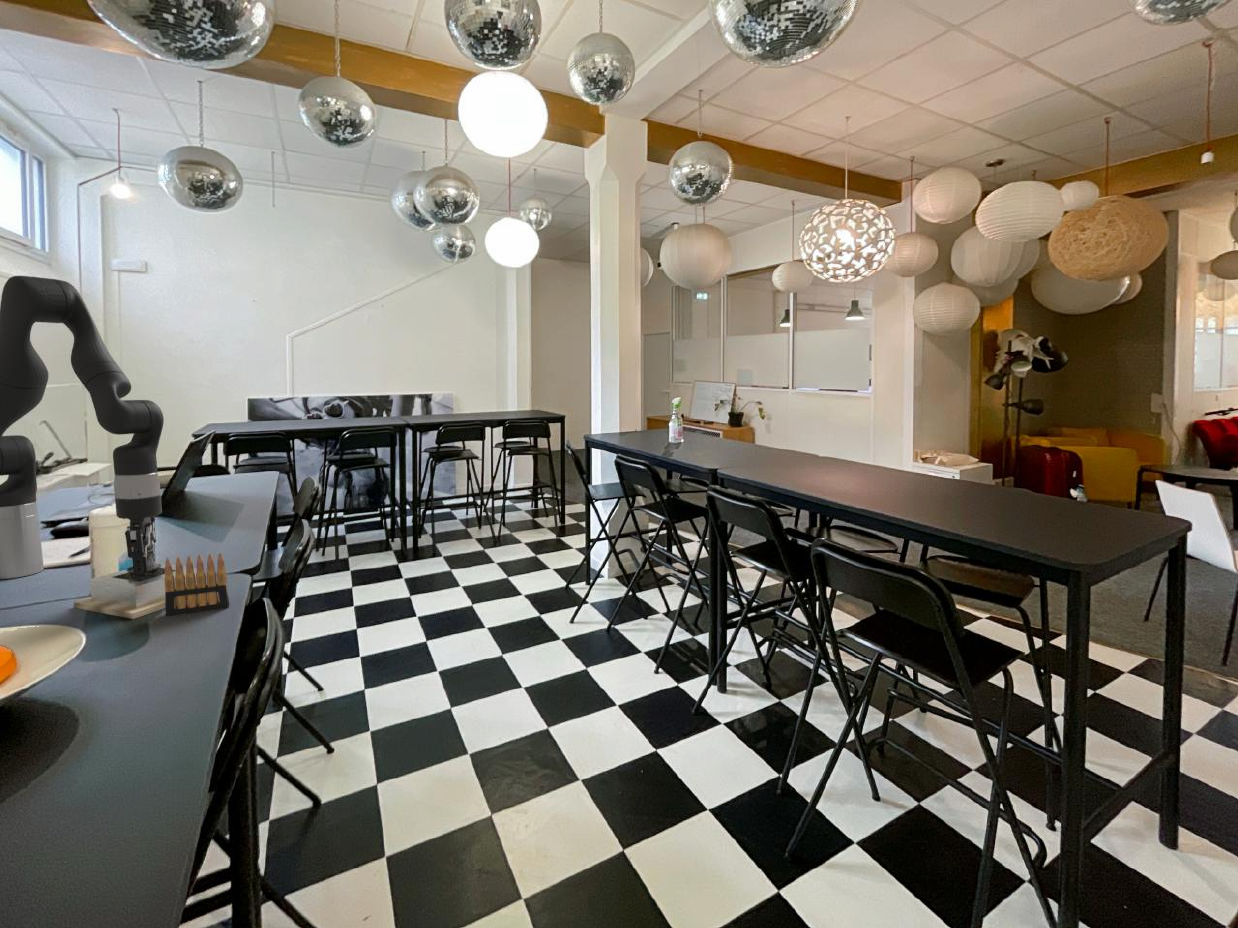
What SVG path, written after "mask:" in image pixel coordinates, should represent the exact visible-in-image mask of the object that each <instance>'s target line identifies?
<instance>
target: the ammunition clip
mask: <svg viewBox="0 0 1238 928" xmlns="http://www.w3.org/2000/svg"><path fill="white" fill-rule="evenodd" d="M203 560H204V559H203V557H202V555H200V554H199V555H198V556H197V559H196V568H197V573H196V578H195V573H194V568H195V567H194V562H193V559H192V557H191V556H190V555H188V556H187V559H186V565H185V567H186V584H185V576H184V572H183V562H182V561H183V560H182V559H181V558H180V557H179V556H177V558H176V562H175V565H176V576H175V580H174V576H173V571H172V565H173V564H172V561H171V560H170V558H169V557H167V558H166V560H165V579H164V581H165V608H164V610H165V617H173V616H180V615H187V614H195V613H203V612H209V611H217V610H223V609H225V610H226V609H229V608H230V597H229V591H228V581H227V579H228V577H227V571H226V566H225V560H224V556H223V554H222V552H219V554H218V556H217V571H216V568H215V563H214V558H213V555H212V554H211V553H209V554H208V556H207V561H206V565H207V567H206V570H207V571H206V572H205V567H204V565H205V564H204V561H203ZM171 564H172V565H171ZM196 583H197V586H196ZM175 584H176V589H175ZM186 595H187V596H186ZM176 599H177V604H176Z"/></svg>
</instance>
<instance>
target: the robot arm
mask: <svg viewBox="0 0 1238 928" xmlns="http://www.w3.org/2000/svg"><path fill="white" fill-rule="evenodd" d="M35 323H48V324H64V325H65V327H66V328H67V329H68V330H69V331H70V332H71V334H72V336H73V346H72V349H71V353H70V354H71V355H70V364H71V367H72V370H73V372H74V373H75V375H76V377H77V378H78V379H79V380H80V382H81V384H82V385H83V386H84V388H85V389H86V390H87V392H88V393H89V395H90V398H91V402H92V406H93V408H94V409H93V410H94V413H95V416H96V417H95V418H96V420H97V422H98V424H99V425H100V427H101V428H102V429H104V430H105V431H106V432H108V433H110V434H113V435H119V436H120V435H132V438H131V440H130V441H129V442H128V443H125V444H124V445H120V446H117V447H116V448H114V449H113V452H112V460H113V461H112V462H113V473H114V481H113V490H114V492H113V493H114V500H115V501H114V502H115V512H116V513H115V514H116V517H117V518H118V519H123V520H125V519H127V520H129V526H128V525H127V526H126V530H125V532H124V535H125V542H126V549H127V558H129V559H132V566H133V572H134V575H144V574H146V573H147V572H148V570H147V557H146V556H147V547H148V546H149V545H150V539H151V548H153V549H154V548H155V547H156V546H155V544H156V542H157V539H156V538H157V537H156V536H157V535H156V518H155V517H157V516H159V515H161V514H162V512H163V509H162V494H161V483H160V477H159V474H158V463H157V461H158V460H157V451H158V447H159V443H160V440H161V435H162V431H163V427H164V419H165V418H164V414H163V411H162V409H161V407H160V406H159V405H158V404H157V403H156V402H154V401H152V400H149V399H148V400H147V399H125V400H123V399H122V398H124V397H126V396H127V395H129V394H130V392H131V390H132V384H131V382H130V380H129V379H128V377H127V376H126V374H125V373H124V371H123V370H122V369H121V367H120V365H118V363H117V362H116V361H115V359H114V358H113V356H112V354H110V352H109V350H108V349H107V347H106V345H105V342H104V340H103V339H102V337H101V334H100V331H99V330H98V327H97V326H96V323H95V321H94V319H93V317H92V315H91V312H90V311H89V309H88V307H87V305H86V303H85V301H84V298H83V297H82V295H81V294H80V292H79V291H78V289H76V287H75V286H74V285H72V284H71V283H70V282H68V281H65V280H62V279H57V278H49V277H48V278H47V277H37V276H30V275H29V276H27V275H13V276H11V277H9V278H8V279H7V280H6V282H5V284H4V286H3V288H2V292H1V297H0V476H1V477H2V476H8V477H7V478H6V480H5V481H4V482H2V483H1V484H0V580H4V579H5V580H6V579H15V578H22V577H26V576H31V575H34V574H38V573H40V572H42V571H44V558H43V548H42V547H43V546H42V538H41V529H40V522H39V521H40V518H39V512H38V501H37V491H38V483H37V457H36V449H35V446H34V444H33V443H32V441H31V440H30V439H29V438H28V437H27V436H26V435H25V436H24V435H20V434H19V435H18V434H15V435H4V433H5V432H6V431H7V429H9V428H10V427H11V426H12V425H13V424H15V423H16V422H18V421H19V420H20V419H22V418H24V416H26V415H27V414H29V413H30V412H31V411H32V410H34V409H35V408H36V407H37V406H38V405H39V404H40V403H41V402H42V400H43V398H44V394H45V391H46V389H47V388H46V387H47V386H48V382H49V371H48V368H47V366H46V365H45V362H44V361H43V359H42V358H41V357H40V355H39V354H38V352H37V351H36V349H35V348H34V346H33V344H32V342H31V332H32V328H33V325H34V324H35ZM143 541H145V542H143ZM136 547H139V549H140V551H135V548H136ZM152 558H153V561H154V562H155V554H154V550H153V551H152Z"/></svg>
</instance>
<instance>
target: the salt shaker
mask: <svg viewBox="0 0 1238 928" xmlns="http://www.w3.org/2000/svg"><path fill="white" fill-rule="evenodd" d="M143 542H145V541H143ZM154 550H155V549H154V548H151V539H150V545H149V546H148V547H147V556H146V557H147V570H148V572H147V573H146V574H144V575H134V572H133V565H132V566H130V567H128V568H126V569H127V572H129V575H130V577H131V578H132V579H134V580H136V581H137V582H140V581H143V580H147V579H150V578H153V577H156V576H157V575H158V573H159V571H160V567H161V566H162V565H161V564H157V563H154V562H155V560H154V561H153V558H152V551H153V552H154ZM135 551H140V549H139V547H136V548H135Z"/></svg>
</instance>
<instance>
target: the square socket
mask: <svg viewBox="0 0 1238 928" xmlns="http://www.w3.org/2000/svg"><path fill="white" fill-rule="evenodd" d="M154 563H157V564H161V565H162V566H161V567H160V571H159V573H158V575H157V576H156V577H153V578H150V579H147V580H143V581H140V582H137V581H136V580H134V579H132V578H131V577H130V575H129V572H127V569H128V568H126V569H123V570H118V571H116V572H112V573H108V574H104V575H101V576H97V577H94V578H90V579H89V589H90V597H91V600H94V601H100V602H105V603H110V604H116V605H121V606H127V607H132V608H139V607H142V606H145V605H148V604H151V603H154V602H157V601H160V600H163V599H165V581H164V579H165V563H166V562H165V563H164V562H158V561H154ZM171 565H172V571H173V576H174V580H175V576H176V564H173V563H171ZM193 568H194V573H195V578H196V573H197V567H193ZM183 572H184V576H185V584H186V565H185V566H183ZM196 586H197V583H196ZM175 589H176V584H175Z"/></svg>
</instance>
